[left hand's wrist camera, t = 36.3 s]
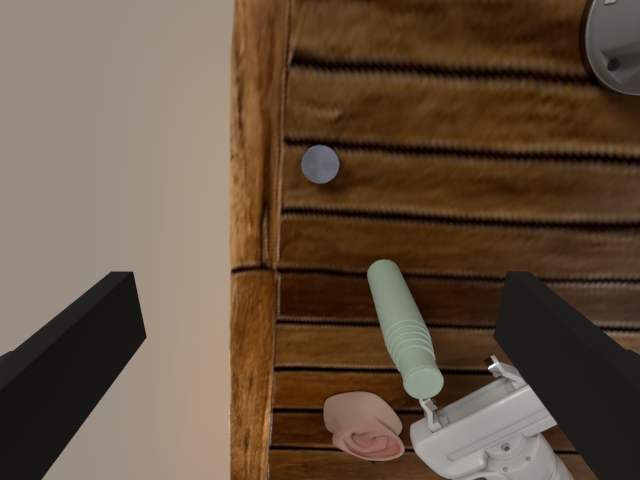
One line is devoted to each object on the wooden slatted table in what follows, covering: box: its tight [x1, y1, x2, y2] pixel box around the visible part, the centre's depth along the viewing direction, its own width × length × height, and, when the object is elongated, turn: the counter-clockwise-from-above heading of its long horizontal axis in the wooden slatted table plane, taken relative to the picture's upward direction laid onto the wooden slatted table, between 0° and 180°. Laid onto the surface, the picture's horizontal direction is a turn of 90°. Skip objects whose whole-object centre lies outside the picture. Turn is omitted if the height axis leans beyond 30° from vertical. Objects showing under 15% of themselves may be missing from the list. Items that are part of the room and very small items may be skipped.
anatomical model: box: [324, 392, 404, 461], centre depth 57 cm, size 13×4×12 cm
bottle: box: [367, 260, 444, 399], centre depth 40 cm, size 4×4×21 cm
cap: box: [301, 143, 339, 184], centre depth 43 cm, size 4×5×2 cm
